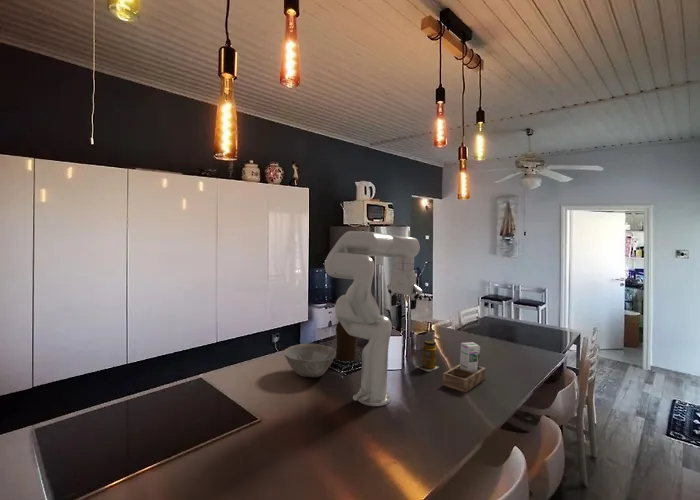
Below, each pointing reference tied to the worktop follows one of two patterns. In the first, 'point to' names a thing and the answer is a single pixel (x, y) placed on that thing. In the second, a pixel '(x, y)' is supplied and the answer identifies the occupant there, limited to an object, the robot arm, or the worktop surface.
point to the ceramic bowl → (310, 359)
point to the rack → (463, 378)
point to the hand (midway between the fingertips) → (403, 307)
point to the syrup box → (470, 357)
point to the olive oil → (345, 344)
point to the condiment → (428, 356)
